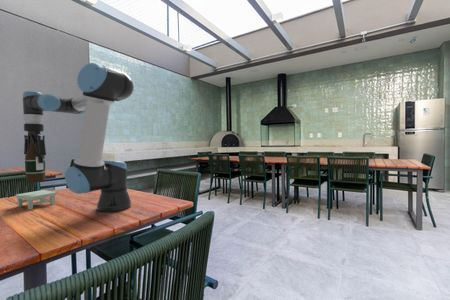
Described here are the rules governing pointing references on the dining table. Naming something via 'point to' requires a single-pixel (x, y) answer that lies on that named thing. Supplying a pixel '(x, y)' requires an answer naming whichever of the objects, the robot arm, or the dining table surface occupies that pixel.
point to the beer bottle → (33, 166)
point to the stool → (35, 198)
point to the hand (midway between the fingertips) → (35, 169)
